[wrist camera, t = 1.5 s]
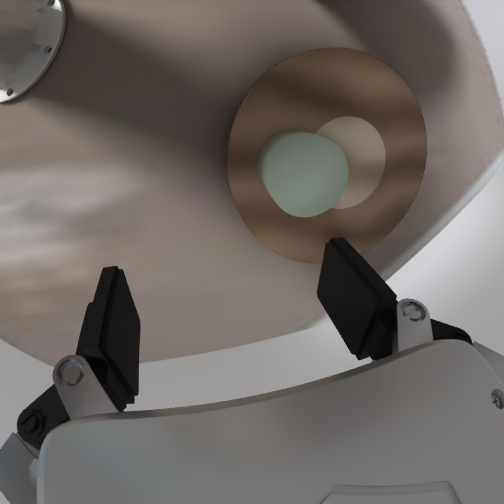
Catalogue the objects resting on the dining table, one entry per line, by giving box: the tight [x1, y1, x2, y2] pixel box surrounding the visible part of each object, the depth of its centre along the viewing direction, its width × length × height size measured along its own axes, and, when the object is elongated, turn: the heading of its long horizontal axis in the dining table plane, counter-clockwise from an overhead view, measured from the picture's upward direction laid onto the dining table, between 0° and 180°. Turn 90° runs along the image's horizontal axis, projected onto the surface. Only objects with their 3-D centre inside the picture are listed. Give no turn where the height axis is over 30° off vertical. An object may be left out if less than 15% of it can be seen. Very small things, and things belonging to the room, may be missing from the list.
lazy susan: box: [226, 48, 427, 263], centre depth 25 cm, size 24×24×4 cm
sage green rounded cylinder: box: [257, 128, 348, 217], centre depth 23 cm, size 7×7×4 cm
